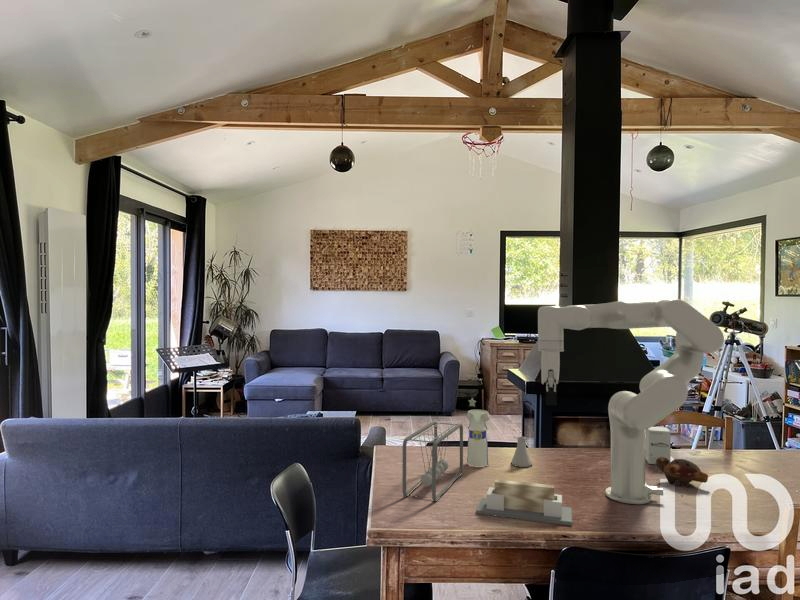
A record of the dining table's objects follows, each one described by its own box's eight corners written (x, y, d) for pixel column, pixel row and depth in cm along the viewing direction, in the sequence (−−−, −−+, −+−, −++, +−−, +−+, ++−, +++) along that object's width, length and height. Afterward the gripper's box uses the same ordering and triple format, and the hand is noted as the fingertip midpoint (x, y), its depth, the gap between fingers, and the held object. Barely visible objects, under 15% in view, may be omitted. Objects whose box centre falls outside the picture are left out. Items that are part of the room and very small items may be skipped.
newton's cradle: (434, 470, 179) (434, 419, 179) (463, 474, 175) (463, 422, 175) (401, 499, 151) (402, 439, 152) (435, 504, 147) (435, 442, 148)
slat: (554, 510, 140) (554, 485, 140) (554, 514, 138) (554, 488, 138) (495, 504, 145) (495, 479, 145) (494, 507, 142) (494, 482, 143)
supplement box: (648, 464, 186) (648, 429, 187) (645, 458, 193) (645, 425, 194) (671, 466, 184) (670, 431, 184) (666, 460, 191) (666, 426, 192)
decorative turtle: (659, 475, 174) (659, 452, 174) (710, 485, 164) (710, 460, 164) (652, 483, 166) (652, 458, 166) (705, 493, 157) (705, 467, 157)
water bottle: (489, 469, 180) (489, 398, 181) (465, 467, 182) (465, 397, 182) (490, 462, 188) (490, 394, 189) (467, 460, 190) (467, 393, 190)
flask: (507, 463, 187) (507, 436, 187) (523, 461, 190) (523, 434, 190) (519, 469, 180) (519, 440, 181) (536, 466, 184) (535, 438, 184)
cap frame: (571, 511, 142) (571, 493, 142) (572, 525, 133) (572, 506, 133) (481, 501, 150) (481, 484, 150) (476, 513, 140) (476, 495, 140)
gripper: (539, 344, 165) (539, 397, 165) (537, 348, 149) (537, 406, 149) (563, 344, 163) (563, 398, 163) (564, 348, 147) (564, 408, 146)
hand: (551, 402), depth 156 cm, fingers open, 9 cm apart
